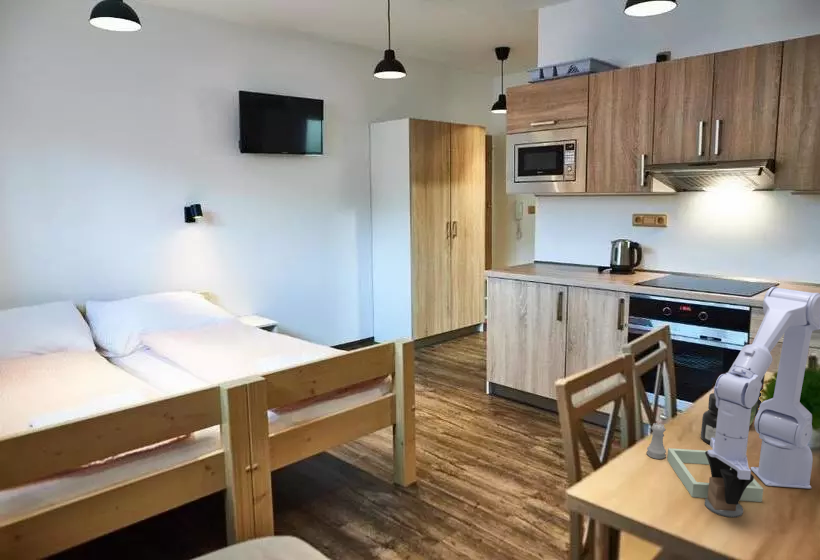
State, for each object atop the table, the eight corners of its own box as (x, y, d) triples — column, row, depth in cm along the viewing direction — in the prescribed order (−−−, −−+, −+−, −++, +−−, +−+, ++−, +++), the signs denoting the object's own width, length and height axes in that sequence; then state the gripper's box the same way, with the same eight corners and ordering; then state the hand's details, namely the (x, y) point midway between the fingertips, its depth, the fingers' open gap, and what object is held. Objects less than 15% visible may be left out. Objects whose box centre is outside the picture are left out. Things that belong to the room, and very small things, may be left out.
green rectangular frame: (728, 463, 138) (729, 452, 138) (761, 502, 122) (763, 488, 121) (667, 459, 140) (668, 448, 139) (692, 497, 123) (693, 484, 123)
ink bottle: (705, 447, 147) (709, 402, 145) (694, 432, 156) (698, 390, 154) (746, 450, 146) (751, 405, 144) (732, 435, 154) (737, 392, 152)
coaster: (734, 500, 122) (734, 497, 122) (749, 518, 115) (749, 516, 115) (699, 497, 123) (699, 494, 123) (712, 515, 116) (712, 513, 116)
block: (727, 500, 121) (729, 478, 120) (735, 511, 117) (738, 488, 116) (707, 499, 121) (709, 476, 121) (714, 509, 118) (717, 486, 117)
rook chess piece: (667, 460, 140) (670, 429, 138) (648, 458, 140) (650, 427, 139) (663, 452, 144) (666, 422, 143) (644, 450, 145) (647, 420, 143)
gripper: (697, 417, 124) (692, 476, 126) (725, 447, 110) (718, 512, 112) (732, 419, 123) (726, 478, 126) (765, 449, 109) (757, 515, 111)
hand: (725, 494), depth 119 cm, fingers open, 6 cm apart
